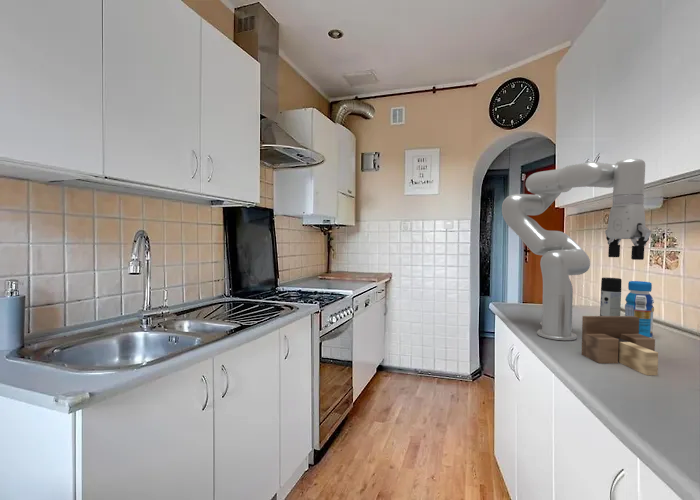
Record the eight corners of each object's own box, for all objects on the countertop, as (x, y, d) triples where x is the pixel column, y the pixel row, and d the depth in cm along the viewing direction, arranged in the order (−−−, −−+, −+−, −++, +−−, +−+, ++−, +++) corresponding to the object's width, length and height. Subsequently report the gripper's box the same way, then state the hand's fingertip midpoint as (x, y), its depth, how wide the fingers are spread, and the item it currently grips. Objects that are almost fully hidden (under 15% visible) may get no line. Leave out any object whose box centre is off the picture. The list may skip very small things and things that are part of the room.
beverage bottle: (618, 334, 139) (620, 281, 138) (634, 332, 142) (635, 280, 141) (642, 340, 131) (644, 283, 130) (658, 338, 134) (660, 282, 133)
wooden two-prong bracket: (581, 354, 115) (582, 316, 115) (633, 354, 116) (634, 316, 115) (598, 363, 107) (600, 322, 107) (654, 363, 108) (655, 322, 107)
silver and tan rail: (609, 357, 112) (609, 338, 112) (618, 357, 112) (619, 338, 112) (646, 375, 98) (646, 352, 98) (657, 375, 98) (658, 352, 98)
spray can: (600, 325, 153) (601, 276, 153) (620, 328, 149) (622, 278, 148) (598, 328, 148) (600, 278, 147) (619, 331, 144) (621, 279, 143)
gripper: (596, 203, 121) (594, 256, 122) (637, 199, 104) (634, 260, 105) (619, 203, 121) (617, 256, 122) (664, 199, 104) (661, 260, 105)
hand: (625, 258), depth 113 cm, fingers open, 9 cm apart
